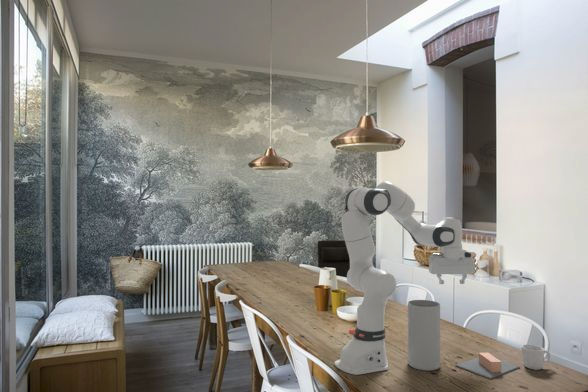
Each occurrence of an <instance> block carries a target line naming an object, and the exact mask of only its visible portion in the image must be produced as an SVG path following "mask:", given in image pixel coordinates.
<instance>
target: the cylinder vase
mask: <svg viewBox="0 0 588 392" xmlns="http://www.w3.org/2000/svg"><path fill="white" fill-rule="evenodd" d="M407 363H408V365H409V366H410V367H411V368H413V369H415V370H419V371H424V372H425V371H426V372H427V371H428V372H430V371H436V370H438V369H440V367H441V303H439V302H438V301H433V300H428V299H412V300H408V301H407Z"/></svg>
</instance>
